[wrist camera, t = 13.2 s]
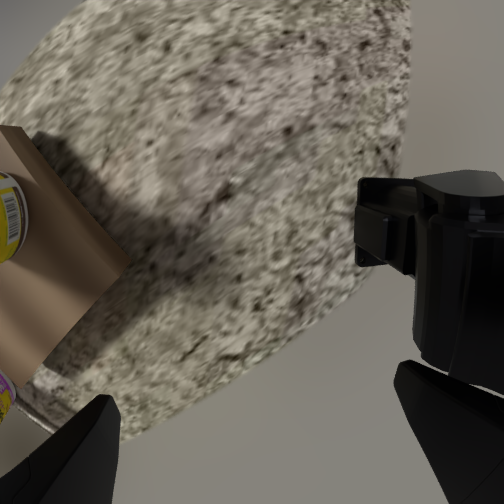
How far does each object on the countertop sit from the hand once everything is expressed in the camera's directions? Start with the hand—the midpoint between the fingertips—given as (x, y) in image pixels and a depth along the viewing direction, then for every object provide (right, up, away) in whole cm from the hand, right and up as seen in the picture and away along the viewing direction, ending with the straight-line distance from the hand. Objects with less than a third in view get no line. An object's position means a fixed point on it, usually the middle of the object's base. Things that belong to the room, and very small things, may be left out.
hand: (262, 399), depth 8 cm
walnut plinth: (-18, +4, +10) cm, 21 cm away
